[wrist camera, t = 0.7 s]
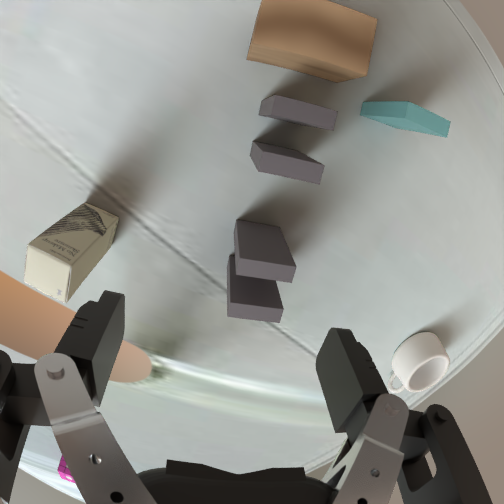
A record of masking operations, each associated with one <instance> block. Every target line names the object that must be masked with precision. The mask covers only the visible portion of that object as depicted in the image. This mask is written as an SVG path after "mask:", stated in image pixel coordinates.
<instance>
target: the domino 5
mask: <svg viewBox="0 0 504 504" xmlns="http://www.w3.org/2000/svg"><path fill="white" fill-rule="evenodd" d="M360 115H361V116H364V117H367V118H370V119H373V120H376V121H378V122H381V123H384V124H387V125H389V126H392V127H394V128H398V129H404V130H410V131H416V132H421V133H427V134H432V135H437V136H442V137H447V135H448V131H449V127H450V121H448V120H446V119H444V118H442V117H440V116H438V115H436V114H434V113H432V112H430V111H428V110H426V109H424V108H422V107H420V106H418V105H416V104H413V103H411V102H409V101H383V102H363V104H362V109H361V113H360Z"/></svg>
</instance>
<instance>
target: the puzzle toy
mask: <svg viewBox="0 0 504 504" xmlns="http://www.w3.org/2000/svg"><path fill="white" fill-rule="evenodd" d="M58 472H59V474H60V476H61V478H62V479H65V480H68V481H71V482H74V483H75V481H74V479H73V477H72V475H71V473H70V471H69V468H68V466H67V464H66V462H65V460H64V457H63V455H62V457H61V460H60V464H59V467H58Z"/></svg>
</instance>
